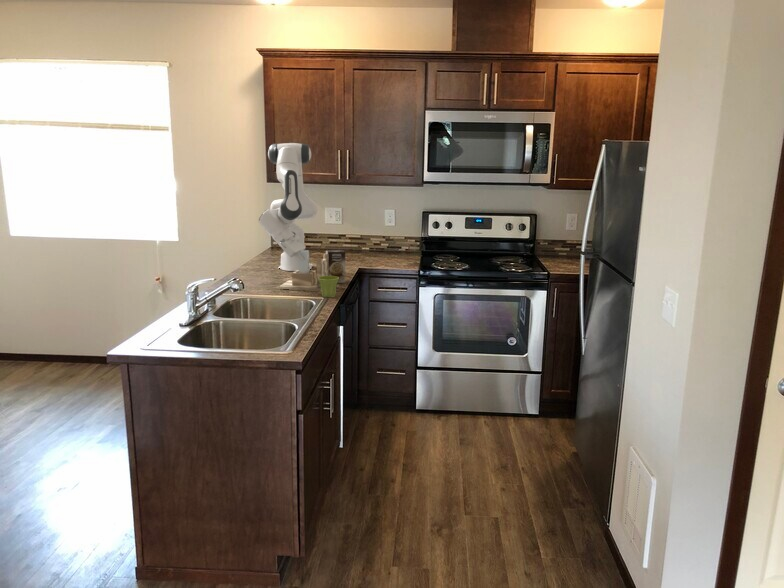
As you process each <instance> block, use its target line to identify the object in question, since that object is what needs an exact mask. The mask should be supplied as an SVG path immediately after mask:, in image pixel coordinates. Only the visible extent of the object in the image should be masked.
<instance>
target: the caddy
mask: <svg viewBox="0 0 784 588" xmlns="http://www.w3.org/2000/svg"><path fill="white" fill-rule="evenodd" d="M321 276H328V254H326V253H324V254H323V259H322V258H320V257H317V258H316V270H313V269H311V270H309V273H299V270H296V271H292V273H291V279H288V280H286V281H285V282H283V283H282V284H280V285H279V290H283V289H289V290H288V291H303V290H305V291H307V292H321V286H320V282H319V279H318V277H321Z"/></svg>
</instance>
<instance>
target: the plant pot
mask: <svg viewBox="0 0 784 588" xmlns="http://www.w3.org/2000/svg"><path fill="white" fill-rule="evenodd" d="M318 279H319V282H320V286H321V291H320V292H321V297H323V298H326V297H327V298H334V297H335V296H336V292H337V285H338V283H337V282H338V279H339V277H337V276H321V277H318Z"/></svg>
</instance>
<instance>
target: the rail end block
mask: <svg viewBox="0 0 784 588" xmlns="http://www.w3.org/2000/svg"><path fill="white" fill-rule="evenodd" d="M299 253H300V255H302V256H303V257H304V258H305V260H304V261H301V260H300V259H299V273H309V264H310V250H308V249H307V250H306V249H305V250H301V251H299Z"/></svg>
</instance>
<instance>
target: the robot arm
mask: <svg viewBox="0 0 784 588" xmlns="http://www.w3.org/2000/svg"><path fill="white" fill-rule="evenodd" d="M267 151H268V152H267V156H268V159H269V162H270V163H272V164H273V165H276V166H275V168H276V169H275V170H276V179H277V180H278V182H279V183H281V185H282V189H283V190H284V198H280V199H274V200H273V201H272V202H271V204H270V206H269V207H270V208H269V209H265V210H264V211H263V212H262V213H261V215H260V216H259V218H258V223H259V225H260V226H261V228H262V229H263V230H264V231H265V233H267V234H268V235H269V236H270V237H272V239H273V241H274V242H276V244H277V245H278V246H279V247H280V248H281V249H282V250H283V252H282V253H281V254H280V265H279V266H278V269H279V268H280V270H282V271H285V272H286V271H289V272H295V271H296V270H299V259H300V260H301V261H304V260H305V258H304V257H303V256H302V255H300V253H299V251H301V250H306V244H307V243H305V231H304V229H303V228H302V227H301V226H299V225H297V224H295V221H297V220H310V219H311V220H312V219H314V218H315V217H316V216H317V213H318V205H317V204H316V202H315V201H314V200H312V199H311V198H310V197H309V196H308V195H307V193H306V191H305V186H304V179H303V178H304V177H303V166H304V165H306V164H309V162H310V161H311V158H312V151H311V148H310V145H308V144H306V143H303V142H302V143H297V142H296V143H295V142H289V143H288V142H287V143H286V142H284V143H272V144H271V145H270V146H269V148H268V150H267ZM302 165H303V166H302ZM312 267H313V263H309V270H310V269H311V270H312Z"/></svg>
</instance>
